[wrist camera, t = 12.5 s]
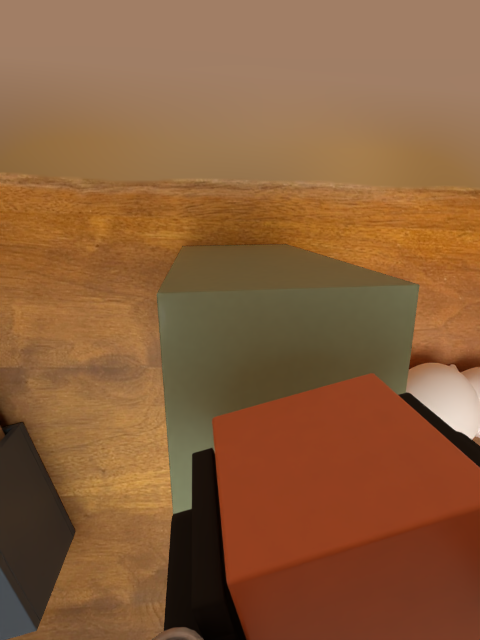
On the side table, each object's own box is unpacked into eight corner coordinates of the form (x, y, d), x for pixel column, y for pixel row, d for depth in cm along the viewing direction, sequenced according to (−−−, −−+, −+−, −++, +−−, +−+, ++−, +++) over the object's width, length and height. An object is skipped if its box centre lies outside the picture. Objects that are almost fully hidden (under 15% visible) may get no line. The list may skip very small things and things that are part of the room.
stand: (182, 246, 31) (156, 292, 12) (286, 244, 32) (420, 284, 13) (187, 345, 33) (173, 519, 14) (283, 341, 34) (392, 498, 15)
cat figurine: (578, 424, 29) (440, 436, 27) (497, 471, 36) (386, 483, 35) (511, 338, 34) (393, 344, 33) (453, 395, 42) (356, 402, 41)
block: (210, 416, 9) (225, 583, 5) (373, 371, 10) (514, 495, 5) (249, 543, 11) (286, 758, 6) (390, 500, 11) (515, 681, 7)
